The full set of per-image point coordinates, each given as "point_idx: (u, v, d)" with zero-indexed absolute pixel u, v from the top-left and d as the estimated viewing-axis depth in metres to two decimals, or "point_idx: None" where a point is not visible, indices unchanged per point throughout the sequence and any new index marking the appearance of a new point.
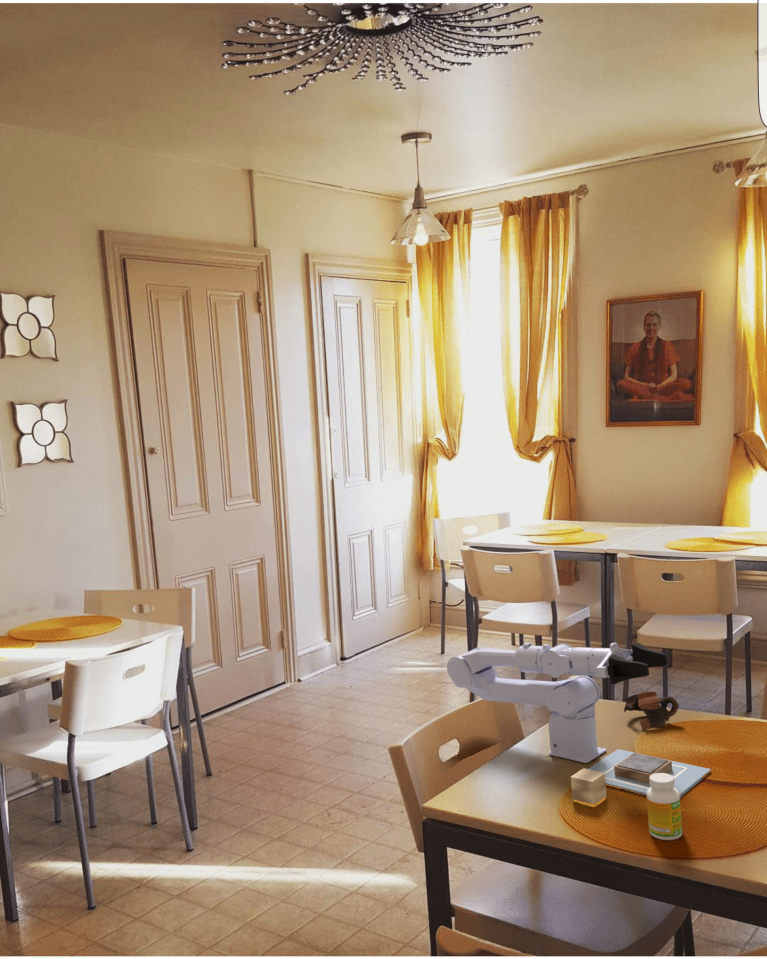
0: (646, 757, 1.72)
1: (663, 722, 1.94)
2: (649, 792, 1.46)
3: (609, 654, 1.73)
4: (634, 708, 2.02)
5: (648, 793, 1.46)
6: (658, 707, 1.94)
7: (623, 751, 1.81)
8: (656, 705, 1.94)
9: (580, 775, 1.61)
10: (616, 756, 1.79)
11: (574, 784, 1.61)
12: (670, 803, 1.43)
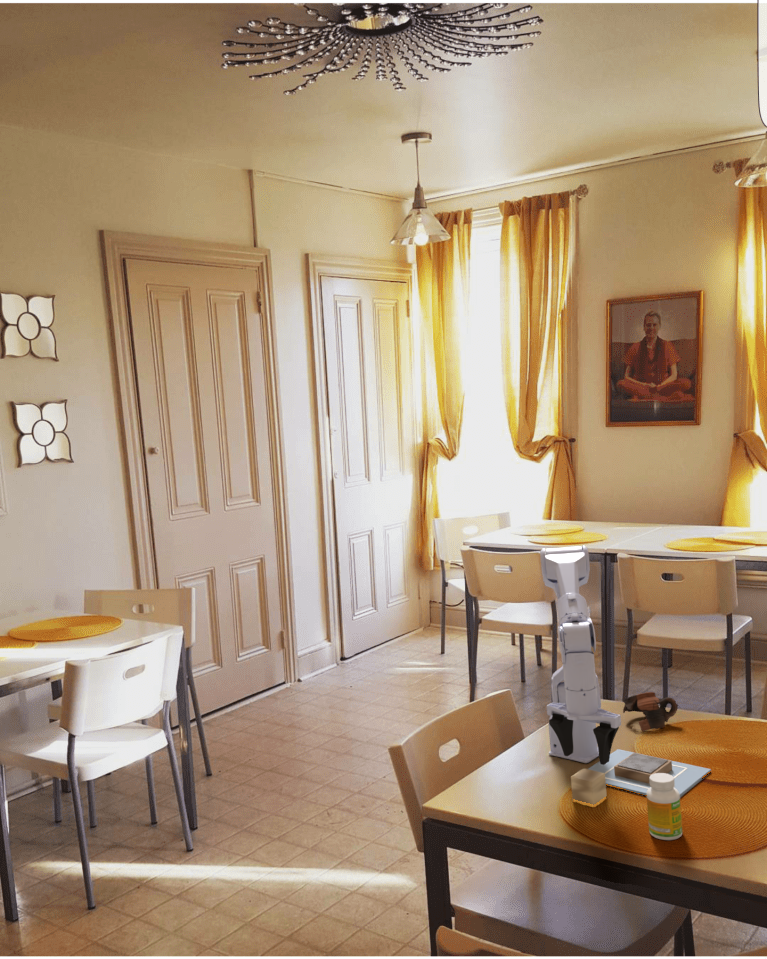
0: (646, 757, 1.72)
1: (662, 723, 1.93)
2: (649, 792, 1.46)
3: (564, 714, 1.60)
4: (633, 709, 2.01)
5: (648, 793, 1.46)
6: (657, 708, 1.94)
7: (623, 751, 1.81)
8: (655, 706, 1.94)
9: (580, 775, 1.61)
10: (616, 756, 1.79)
11: (574, 784, 1.61)
12: (670, 803, 1.43)
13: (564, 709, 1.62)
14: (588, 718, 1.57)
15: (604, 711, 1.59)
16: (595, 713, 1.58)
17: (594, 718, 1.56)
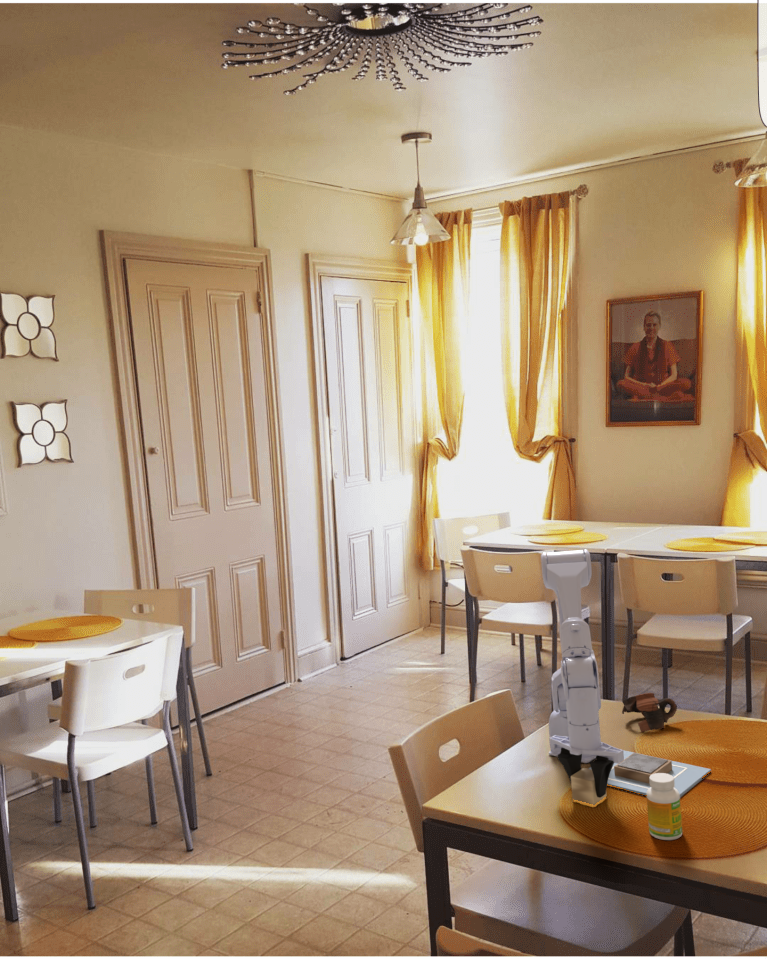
0: (646, 757, 1.72)
1: (661, 724, 1.93)
2: (649, 792, 1.46)
3: (567, 748, 1.61)
4: (632, 710, 2.01)
5: (648, 793, 1.46)
6: (656, 709, 1.93)
7: (623, 751, 1.81)
8: (654, 707, 1.93)
9: (580, 774, 1.61)
10: None
11: (574, 784, 1.60)
12: (670, 803, 1.43)
13: (567, 743, 1.63)
14: (591, 753, 1.57)
15: (607, 745, 1.59)
16: (598, 748, 1.58)
17: (597, 753, 1.57)
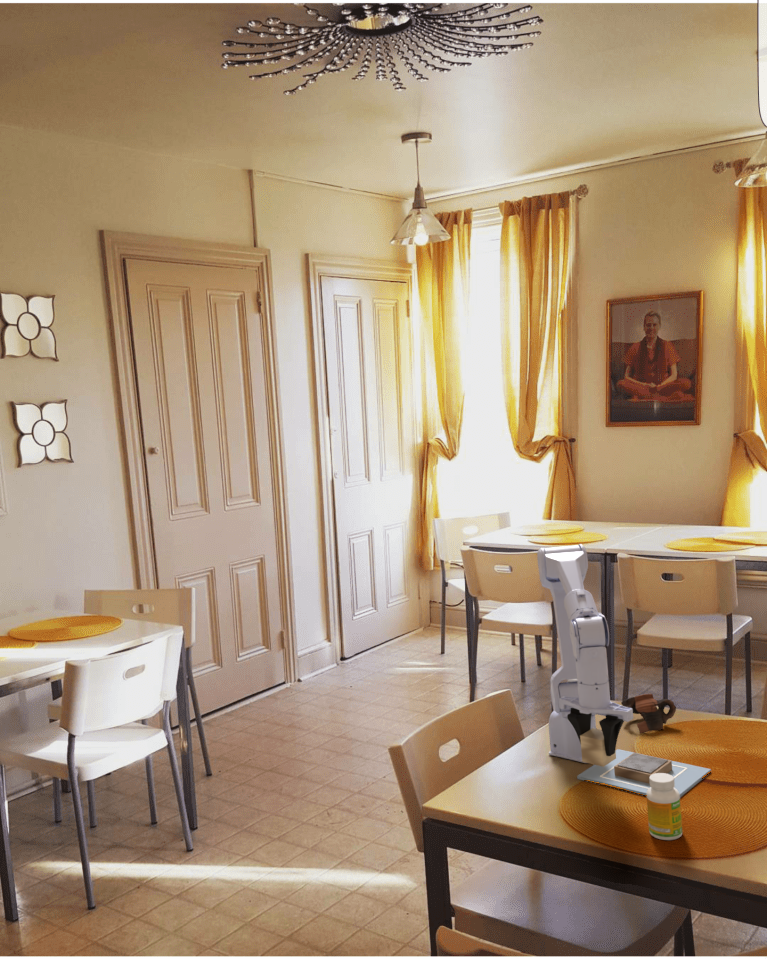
0: (646, 757, 1.72)
1: (661, 725, 1.92)
2: (649, 792, 1.46)
3: (577, 707, 1.62)
4: None
5: (648, 793, 1.46)
6: (655, 710, 1.93)
7: (623, 751, 1.81)
8: (653, 708, 1.93)
9: (590, 734, 1.63)
10: (616, 756, 1.79)
11: (583, 743, 1.62)
12: (670, 803, 1.43)
13: (576, 703, 1.64)
14: (600, 712, 1.59)
15: (616, 705, 1.61)
16: (607, 707, 1.60)
17: (606, 712, 1.58)
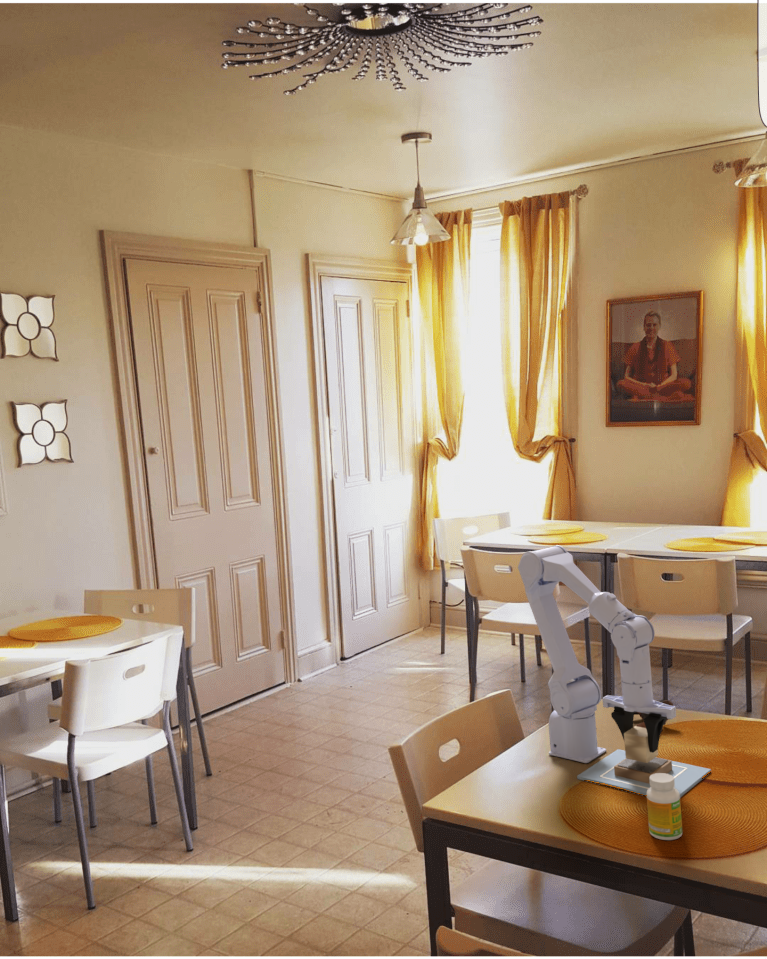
0: None
1: None
2: (649, 792, 1.46)
3: (621, 706, 1.69)
4: None
5: (648, 793, 1.46)
6: None
7: (623, 751, 1.81)
8: None
9: (633, 731, 1.69)
10: (616, 756, 1.79)
11: (627, 740, 1.69)
12: (670, 803, 1.43)
13: (620, 701, 1.71)
14: (644, 710, 1.65)
15: (659, 703, 1.68)
16: (651, 705, 1.66)
17: (650, 710, 1.65)
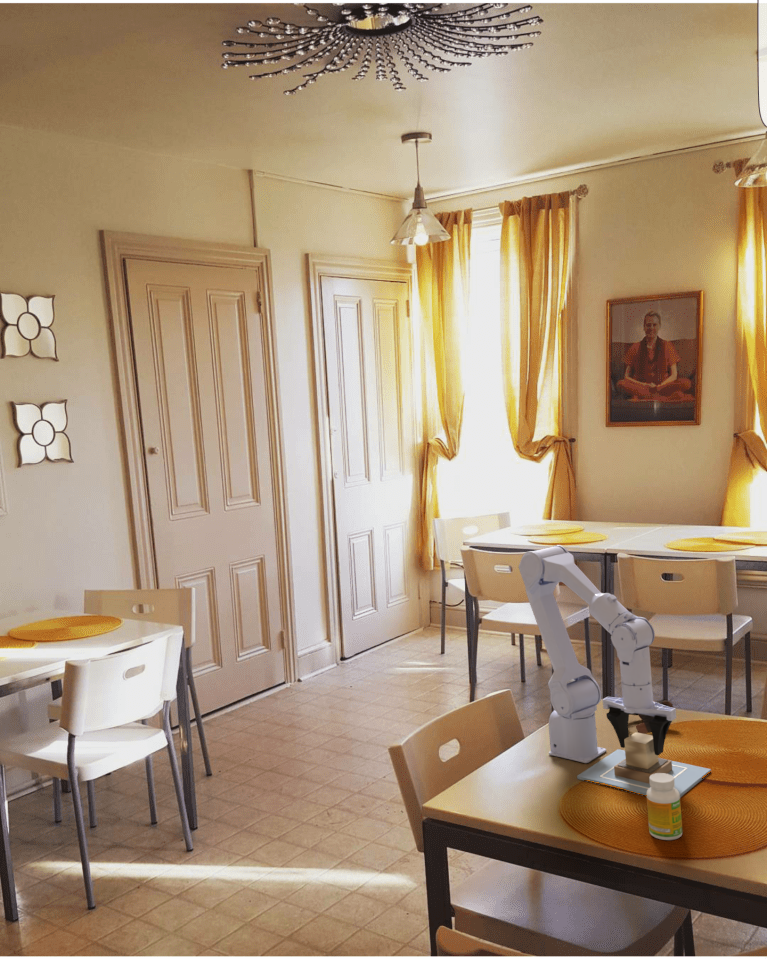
0: None
1: None
2: (649, 792, 1.46)
3: (621, 707, 1.69)
4: None
5: (648, 793, 1.46)
6: None
7: (623, 751, 1.81)
8: None
9: (633, 738, 1.69)
10: (616, 756, 1.79)
11: (627, 746, 1.69)
12: (670, 803, 1.43)
13: (620, 703, 1.71)
14: (645, 711, 1.65)
15: (659, 705, 1.68)
16: (651, 706, 1.67)
17: (650, 711, 1.65)
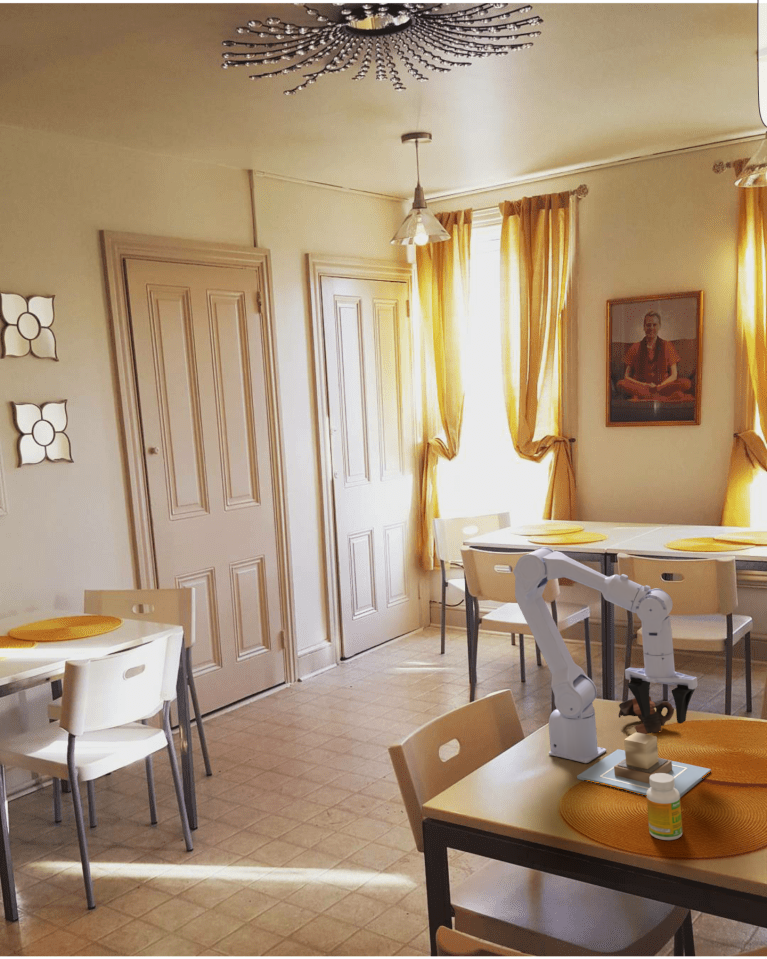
0: None
1: (659, 727, 1.91)
2: (649, 792, 1.46)
3: (643, 677, 1.73)
4: (628, 713, 1.99)
5: (648, 793, 1.46)
6: (653, 712, 1.91)
7: (623, 751, 1.81)
8: (651, 710, 1.91)
9: (633, 738, 1.69)
10: (616, 756, 1.79)
11: (627, 746, 1.69)
12: (670, 803, 1.43)
13: (642, 673, 1.75)
14: (666, 680, 1.69)
15: (680, 674, 1.71)
16: (672, 676, 1.70)
17: (672, 680, 1.69)
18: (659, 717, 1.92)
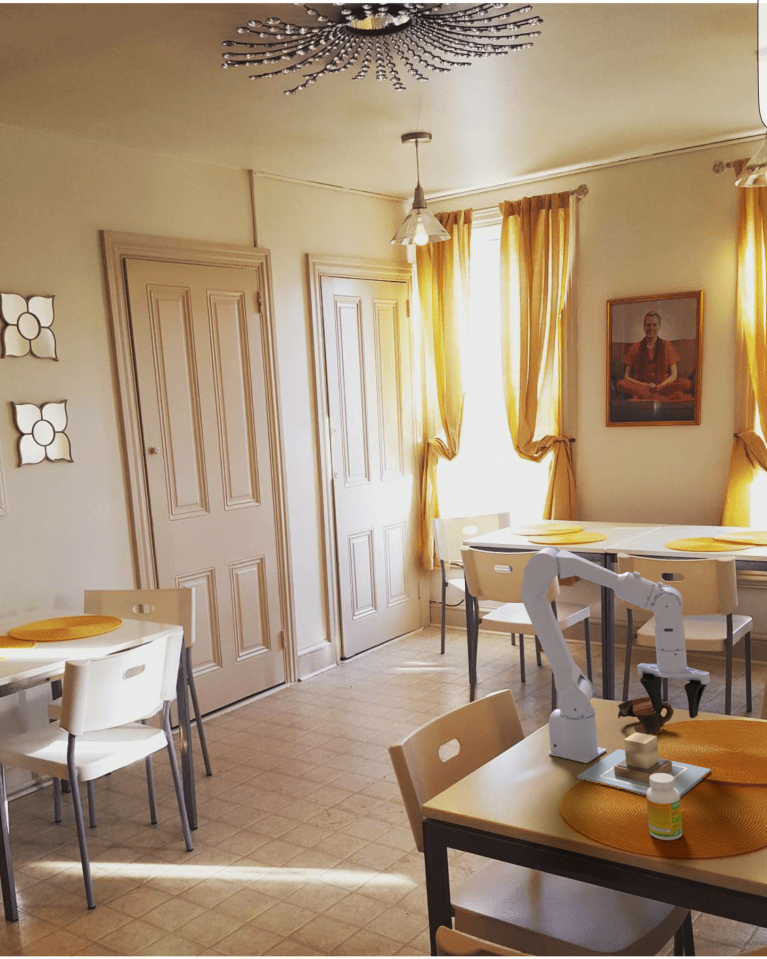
0: None
1: (658, 728, 1.90)
2: (649, 792, 1.46)
3: (655, 672, 1.75)
4: (627, 714, 1.98)
5: (648, 793, 1.46)
6: (653, 713, 1.91)
7: (623, 751, 1.81)
8: (651, 711, 1.91)
9: (633, 738, 1.69)
10: (616, 756, 1.79)
11: (627, 746, 1.69)
12: (670, 803, 1.43)
13: (654, 668, 1.77)
14: (679, 675, 1.72)
15: (693, 669, 1.74)
16: (685, 671, 1.73)
17: (685, 675, 1.71)
18: (658, 718, 1.91)
